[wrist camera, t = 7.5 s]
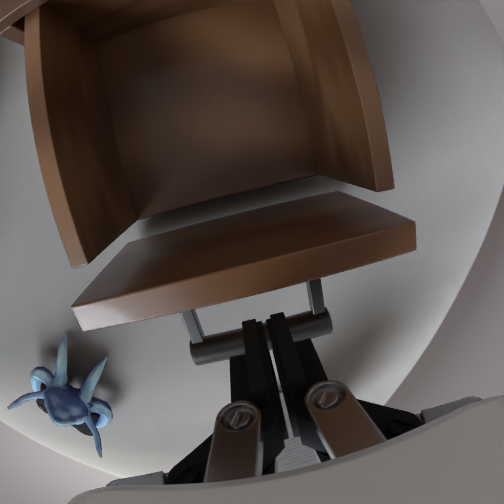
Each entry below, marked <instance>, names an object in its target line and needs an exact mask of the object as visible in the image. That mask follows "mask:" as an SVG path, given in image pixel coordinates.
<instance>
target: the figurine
mask: <svg viewBox="0 0 504 504" xmlns="http://www.w3.org/2000/svg"><path fill="white" fill-rule="evenodd" d="M67 352H68V347H67V333H66V334H65V336H64V338H63V340H62V341H61V343H60V345H59V347H58V353H57V358H56V374H55V376H54V375H53V374H52V373H51V372H50V371H49V370H48V369H46V368H45V367H36V368H35V369H33V370H32V371H31V375H30V377H31V385H32V388H33V391H34V392H32V393H28V394H25V395H23V396H21V397H19V398H18V399H17V400H15V401H14V402H13V403H12V404H11V405H9V406H8V407H7V408H8V409H12V408H15V407H17V406H19V405H21V404H22V403H24V402H26V401H29V400H33V399H37V398H38V399H37V401H36V403H37V405H38V406H39V408H40V409H42V410H43V411H44V412H46V413H47V414H49V417H50V419H51V420H52V421H53V423H54V424H55V425H57V426H70V425H71V426H73V427H75V428H76V429H77V430H78V431H80V432H81V433H83V434H85V435H88V436H94V440H95V445H96V449H97V452H98V455H99V457H100V458H102V447H101V438H100V434H99V432H98V430H97V428H102V427H104V426H106V425H107V424H108V423H110V422H111V420H112V418H113V414H112V410H111V407H110V406H109V405H108V403H107V402H105V401H103V400H100V399H97V398H94V397H92V396H93V393H94V389H95V387H96V385H97V383H98V381H99V379H100V377H101V374H102V372H103V370H104V367H105V365H106V362H107V359H108V357H109V356H106V357H105V358H104V359H103V360H102V361H100V362H99V363H98V364H97V365H96V366H95V367H94V368H93V370H92V371H91V373H90V374H89V375H88V377H87V379H86V381H85V383H84V384H83V385H82V386H81V387H80V388H79V389H77V388H73V387H72V386H71V385H70V384H69V383H68V376H67ZM41 382H43V383H41ZM91 412H93V413H91Z"/></svg>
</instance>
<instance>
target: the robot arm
mask: <svg viewBox="0 0 504 504" xmlns="http://www.w3.org/2000/svg"><path fill="white" fill-rule="evenodd" d="M270 317H271V319H267V320H266V324H267V328H268V332H269V337H270V341H271V345H272V350H273V354H274V358H275V363H276V367H277V371H278V376H279V380H280V384H281V388H282V392H283V396H284V400H285V404H286V408H287V412H288V416H289V420H290V424H291V428H292V432H293V436H294V437H299V436H300V439H301V443H302V445H305V446H307V447H310V448H312V449H313V451H314V454H315V456H316V458H317V460H318V462H319V463H317V464H314V465H310V466H306V467H302V468H297V469H293V470H289V471H284V472H279V473H278V459H277V456H278V455H279V454H280V453H281V452H282V451H283V450H284V448H285V444H284V440H286V439H289V435H288V430H287V426H286V421H285V417H284V412H283V408H282V403H281V399H280V394H279V390H278V385H277V380H276V376H275V372H274V368H273V364H272V360H271V356H270V352H269V349H268V345H267V341H266V337H265V333H264V329H263V325H262V321H259V322H256V319H252V320H247V321H243V322H242V328H243V338H244V348H245V354H241V355H237V356H232V357H230V383H231V403H230V404H228V405H226V406H225V407H223V408H222V409H221V410H220V412H219V413H218V415H217V417H216V422H215V427H214V432H213V434H212V435H211V436H209V437H208V438H207V439H206V440H205V441H204V442H203V443H201V444H200V445H199V446H198V447H197V448H196V449H195V450H193V451H192V452H191V453H190V454H189V455H187V456H186V457H185V458H184V459H183V460H181V461H180V462H179V463H178V464H177V465H175V466H174V467H173V468H172V469H171V470H170V472H168V473H164V472H163V471H160V472H155V473H151V474H146V475H140V476H135V477H129V478H123V479H117V480H114V481H111V482H110V483H109V484H107V485H106V487H102V488H97V489H94V490H89V491H86V492H83V493H81V494H79V495H77V496H75V497H74V498H72V499H71V500H70V501H69V503H68V504H504V395H502V396H495V397H490V398H486V399H480V398H479V397H474V396H473V397H466V398H463V399H460V400H457V401H454V402H451V403H447V404H444V405H440V406H436V407H433V408H429V409H425V410H421V413H420V414H416V415H415V414H413V413H410V412H407V411H402V410H398V409H394V408H390V407H386V406H382V405H378V404H374V403H370V402H366V401H363V400H359V399H356V398H355V397H354V395H353V394H352V392H351V391H350V390H349V388H348V387H347V386H346V385H345V384H343V383H341V382H339V381H334V380H328V378H327V376H326V373H325V371H324V369H323V366H322V364H321V362H320V359H319V357H318V355H317V352H316V350H315V348H314V345H313V343H312V341H311V339H310V338H307V339H304V340H300V341H296V342H293V339H292V336H291V333H290V330H289V327H288V324H287V321H286V318H285V315H284V313H283V312H281V313H277V314H273V315H270Z"/></svg>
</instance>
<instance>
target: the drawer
mask: <svg viewBox="0 0 504 504" xmlns="http://www.w3.org/2000/svg"><path fill="white" fill-rule="evenodd" d="M25 67H26V81H27V91H28V100H29V108H30V115H31V122H32V128H33V134H34V139H35V144H36V149H37V154H38V159H39V163H40V168H41V172H42V176H43V180H44V184H45V188H46V192H47V195H48V199H49V202H50V206H51V209H52V212H53V216H54V219H55V222H56V225H57V228H58V231H59V234H60V237H61V240H62V243H63V246H64V248H65V251H66V254H67V256H68V259H69V262H70V264H71V267H72V269H75V268H78V267H81V266H85V265H88V264H89V263H90V262H91V261H92V260H94V259H95V258H96V257H97V256H98V255H99V254H100V253H101V252H102V251H103V250H104V249H105V248H107V247H108V246H109V245H110V244H111V243H112V242H113V241H114V240H115V239H117V238H118V237H119V236H120V235H121V234H122V233H123V232H125V231H126V230H127V229H128V228H129V227H130V226H131V225H133V224H134V223H135V222H136V221H137V220H140V219H144V218H147V217H151V216H154V215H157V214H161V213H164V212H168V211H172V210H175V209H179V208H182V207H186V206H190V205H193V204H197V203H201V202H205V201H209V200H212V199H216V198H220V197H224V196H228V195H232V194H236V193H240V192H245V191H249V190H253V189H257V188H262V187H266V186H270V185H275V184H279V183H284V182H288V181H293V180H298V179H302V178H307V177H312V176H317V175H320V176H324V177H327V178H331V179H335V180H338V181H342V182H345V183H349V184H352V185H356V186H359V187H362V188H366V189H369V190H372V191H375V192H381V191H386V190H391V189H394V179H393V171H392V164H391V157H390V151H389V145H388V139H387V134H386V128H385V123H384V118H383V113H382V108H381V104H380V99H379V95H378V91H377V87H376V83H375V79H374V75H373V71H372V67H371V64H370V60H369V57H368V53H367V50H366V47H365V43H364V40H363V37H362V34H361V31H360V28H359V25H358V22H357V19H356V16H355V14H354V11H353V8H352V6H351V3H350V0H49V1H47V2H46V3H44V4H42V5H41V6H39V7H37V8H36V9H34V10H33V11H31V12H29V13H28V14H26V15H25ZM415 250H416V225H415V221H413V220H410V219H408V218H406V217H403V216H401V215H399V214H396V213H394V212H392V211H389V210H387V209H384V208H382V207H379V206H377V205H374V204H372V203H369V202H367V201H364V200H362V199H359V198H357V197H354V196H351V195H349V194H346V193H343V192H341V191H334V192H329V193H324V194H320V195H315V196H311V197H306V198H302V199H297V200H293V201H288V202H284V203H280V204H275V205H271V206H267V207H263V208H258V209H254V210H250V211H246V212H242V213H238V214H234V215H230V216H226V217H222V218H218V219H214V220H210V221H206V222H202V223H198V224H195V225H191V226H187V227H183V228H180V229H176V230H172V231H168V232H165V233H161V234H157V235H154V236H150V237H147V238H143V239H140V240H136V241H133V242H129V243H128V244H127V245H126V246H125V247H124V248H123V249H122V250H121V251H120V252H119V253H118V254H117V255H116V256H115V257H114V258H113V259H112V260H111V261H110V263H109V264H108V265H107V266H106V267H105V268H104V269H103V270H102V271H101V272H100V274H99V275H98V276H97V277H96V278H95V279H94V280H93V281H92V282H91V284H90V285H89V286H88V287H87V288H86V289H85V290H84V292H83V293H82V294H81V295H80V296H79V297H78V299H77V300H76V301H75V302H74V303H73V304H72V306H71V308H72V311H73V313H74V315H75V317H76V319H77V321H78V323H79V325H80V327H81V329H82V331H90V330H95V329H100V328H106V327H111V326H116V325H121V324H126V323H131V322H136V321H141V320H146V319H151V318H156V317H161V316H165V315H170V314H175V313H179V312H180V314H181V316H182V319H183V321H184V324H185V326H186V329H187V331H188V334H189V336H190V339H191V340H190V353H191V356H192V359H193V361H194V363H195V364H196V365H203V364H208V363H213V362H218V361H223V360H228V359H230V357H232V356H237V355H241V354H245V348H244V338H243V328H240V329H235V330H231V331H226V332H222V333H217V334H213V335H208V336H204V333H203V330H202V328H201V325H200V322H199V320H198V317H197V314H196V311H195V309H197V308H202V307H206V306H211V305H215V304H219V303H223V302H228V301H232V300H236V299H240V298H244V297H248V296H253V295H257V294H261V293H265V292H269V291H273V290H277V289H280V288H284V287H288V286H292V285H296V284H300V283H303V282H306V284H307V290H308V297H309V303H310V309H311V310H310V311H307V312H303V313H299V314H296V315H292V316H288V317H285V318H286V321H287V324H288V327H289V330H290V333H291V336H292V339H293V342H296V341H300V340H304V339H307V338H310V339H313V338H316V337H320V336H323V335H326V334H330V333H331V332H332V330H333V326H332V320H331V317H330V314H329V311H328V310H327V308H326V307H324V300H323V293H322V286H321V279H320V278H322V277H326V276H329V275H333V274H337V273H340V272H344V271H347V270H351V269H354V268H358V267H361V266H365V265H368V264H372V263H375V262H379V261H382V260H385V259H389V258H392V257H395V256H399V255H402V254H405V253H408V252H412V251H415ZM262 325H263V329H264V333H265V337H266V341H267V345H268V349H269V350H271V349H272V345H271V341H270V337H269V332H268V328H267V324H266V322H265V323H262Z"/></svg>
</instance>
